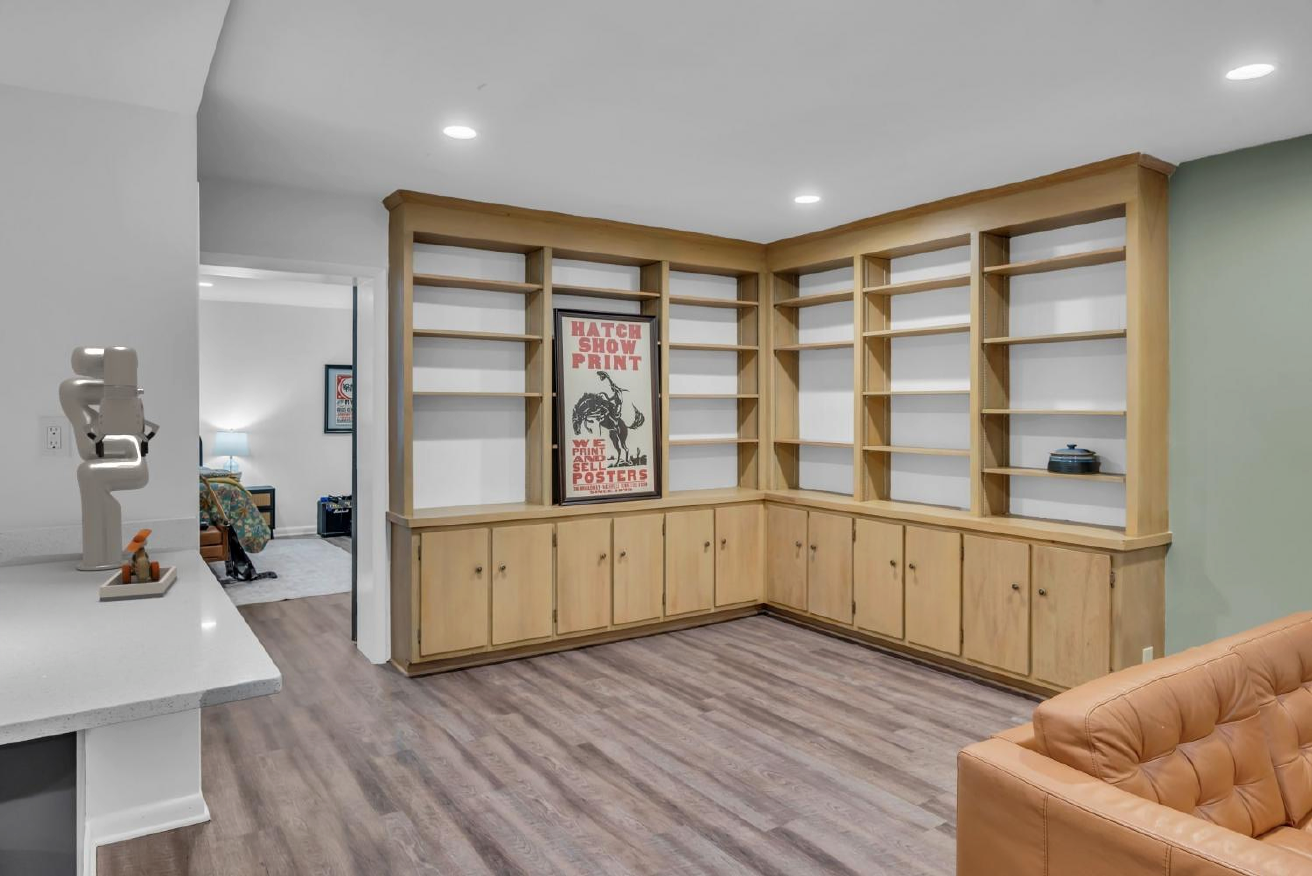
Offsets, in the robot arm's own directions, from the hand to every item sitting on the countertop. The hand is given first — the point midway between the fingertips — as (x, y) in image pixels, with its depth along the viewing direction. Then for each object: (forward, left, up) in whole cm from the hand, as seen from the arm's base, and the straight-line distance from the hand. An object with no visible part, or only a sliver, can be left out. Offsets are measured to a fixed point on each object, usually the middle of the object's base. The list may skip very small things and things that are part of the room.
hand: (122, 457), depth 217 cm
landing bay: (+15, +6, -33) cm, 37 cm away
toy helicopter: (+15, +6, -32) cm, 36 cm away
